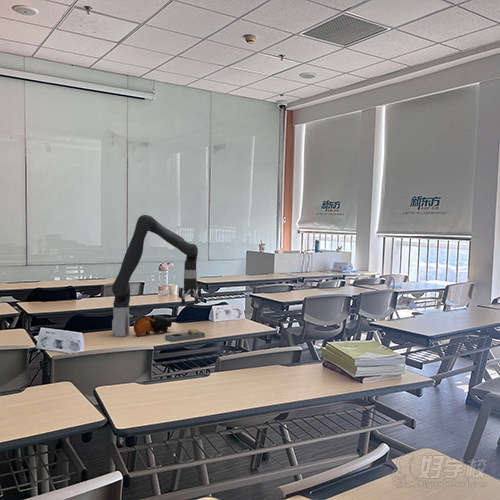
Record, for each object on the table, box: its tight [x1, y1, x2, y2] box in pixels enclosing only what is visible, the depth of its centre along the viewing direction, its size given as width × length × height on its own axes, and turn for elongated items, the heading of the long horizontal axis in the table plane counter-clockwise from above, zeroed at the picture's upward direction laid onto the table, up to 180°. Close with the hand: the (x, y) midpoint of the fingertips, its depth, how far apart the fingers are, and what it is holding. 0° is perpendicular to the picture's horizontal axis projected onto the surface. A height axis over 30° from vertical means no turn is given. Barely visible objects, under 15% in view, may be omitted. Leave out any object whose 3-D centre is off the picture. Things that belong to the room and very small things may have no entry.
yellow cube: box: [187, 328, 199, 334], centre depth 292 cm, size 4×4×4 cm
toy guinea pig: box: [133, 314, 173, 338], centre depth 301 cm, size 8×23×15 cm, turn 127°
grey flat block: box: [164, 330, 206, 343], centre depth 289 cm, size 22×8×2 cm, turn 128°
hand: (189, 304), depth 293 cm, fingers open, 8 cm apart
